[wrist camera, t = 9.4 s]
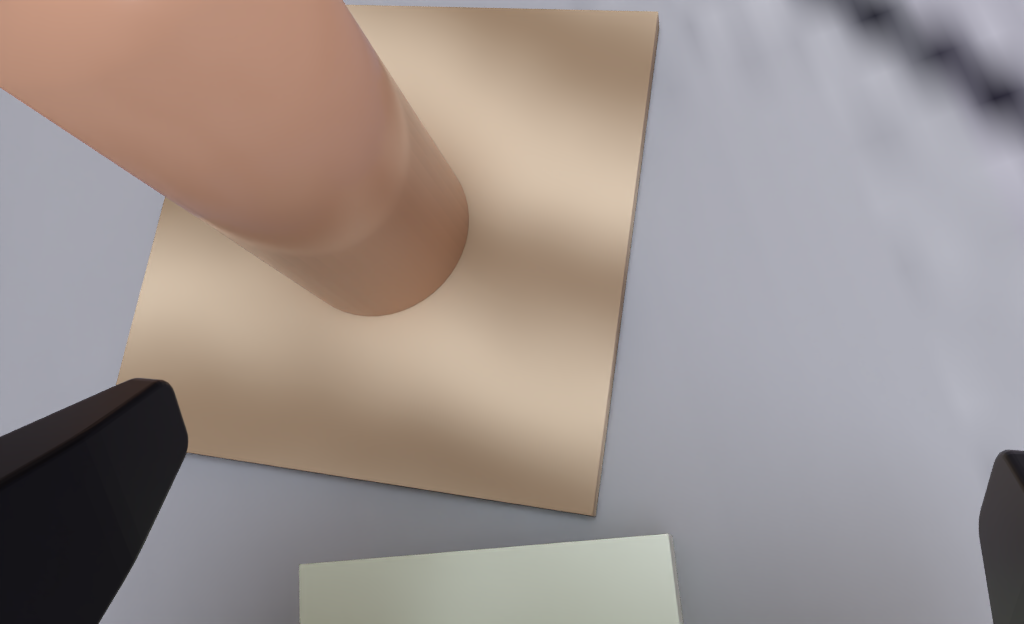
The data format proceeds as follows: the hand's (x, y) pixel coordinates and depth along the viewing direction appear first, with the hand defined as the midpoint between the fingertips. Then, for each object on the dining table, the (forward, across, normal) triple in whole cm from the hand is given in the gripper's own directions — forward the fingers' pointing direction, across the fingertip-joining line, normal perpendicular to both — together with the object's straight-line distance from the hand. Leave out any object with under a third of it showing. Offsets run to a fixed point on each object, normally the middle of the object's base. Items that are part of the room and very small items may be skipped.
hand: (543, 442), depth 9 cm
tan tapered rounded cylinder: (+14, +7, +4) cm, 16 cm away
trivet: (+14, +7, +5) cm, 17 cm away
